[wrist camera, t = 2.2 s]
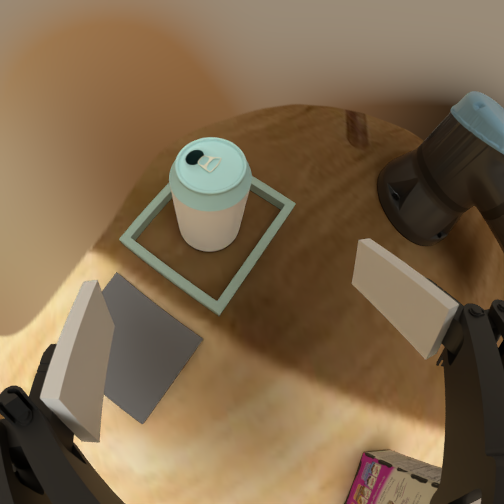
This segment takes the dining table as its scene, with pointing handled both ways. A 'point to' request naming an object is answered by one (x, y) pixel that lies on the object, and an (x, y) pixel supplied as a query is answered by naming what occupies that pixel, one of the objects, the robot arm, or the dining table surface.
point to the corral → (177, 279)
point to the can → (210, 192)
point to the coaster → (142, 349)
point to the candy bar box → (393, 480)
